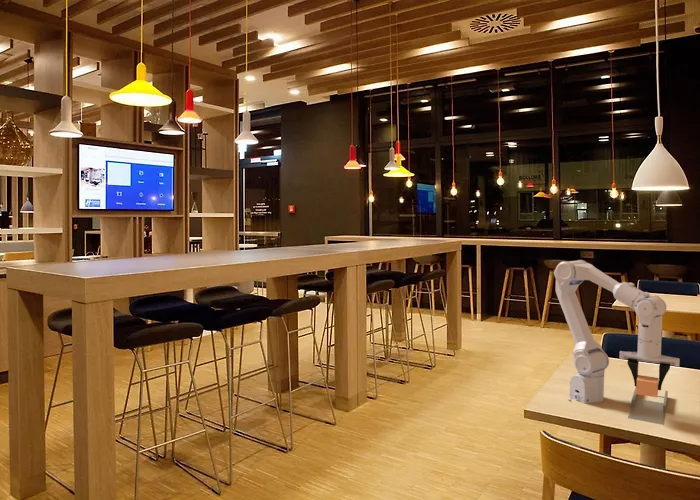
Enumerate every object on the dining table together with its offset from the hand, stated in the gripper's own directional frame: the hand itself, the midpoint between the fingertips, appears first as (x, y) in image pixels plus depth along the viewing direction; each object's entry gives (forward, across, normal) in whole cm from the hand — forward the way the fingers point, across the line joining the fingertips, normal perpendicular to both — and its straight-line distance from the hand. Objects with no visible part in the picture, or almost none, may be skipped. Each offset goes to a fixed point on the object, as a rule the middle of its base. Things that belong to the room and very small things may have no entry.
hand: (647, 387), depth 147 cm
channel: (+9, 0, -8) cm, 12 cm away
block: (+1, 0, +3) cm, 3 cm away
